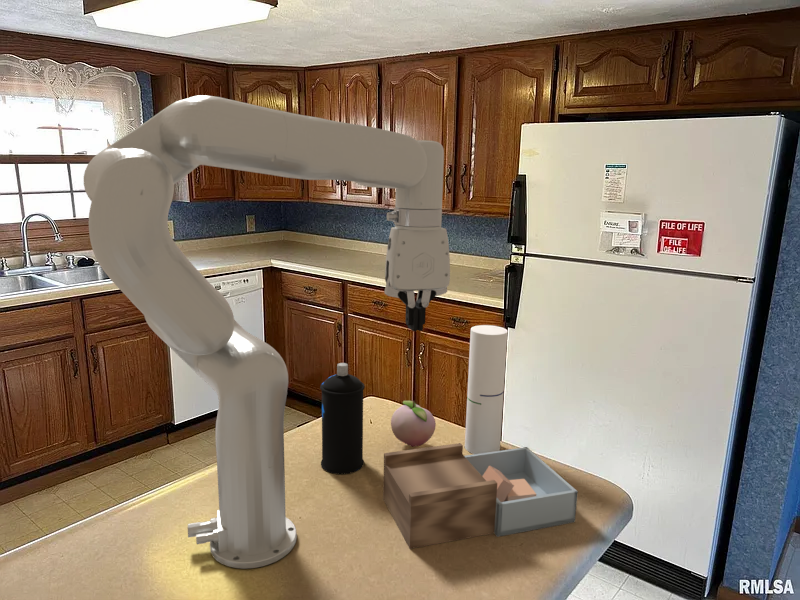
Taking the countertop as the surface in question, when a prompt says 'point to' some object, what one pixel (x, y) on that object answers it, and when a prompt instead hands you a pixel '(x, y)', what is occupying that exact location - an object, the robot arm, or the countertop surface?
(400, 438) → the decorative fruit
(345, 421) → the aerosol can
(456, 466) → the brown wooden box
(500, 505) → the bin
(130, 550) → the countertop surface
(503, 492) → the tile
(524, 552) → the countertop surface
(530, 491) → the tile
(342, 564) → the countertop surface
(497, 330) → the cylindrical container
